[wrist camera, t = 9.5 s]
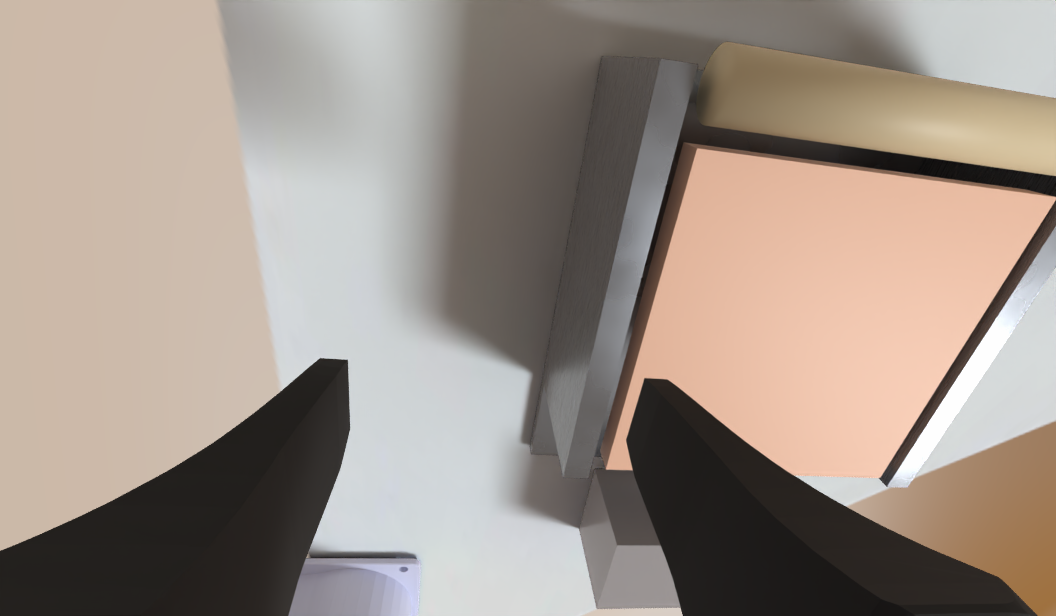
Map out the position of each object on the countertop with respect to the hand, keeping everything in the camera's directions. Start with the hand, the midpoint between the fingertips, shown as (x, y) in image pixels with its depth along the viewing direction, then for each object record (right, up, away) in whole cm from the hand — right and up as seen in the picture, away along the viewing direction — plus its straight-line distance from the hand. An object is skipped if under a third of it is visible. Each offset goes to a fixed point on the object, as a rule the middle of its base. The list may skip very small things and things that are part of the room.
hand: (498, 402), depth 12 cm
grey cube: (+7, -9, +17) cm, 21 cm away
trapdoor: (+11, +3, +5) cm, 12 cm away
